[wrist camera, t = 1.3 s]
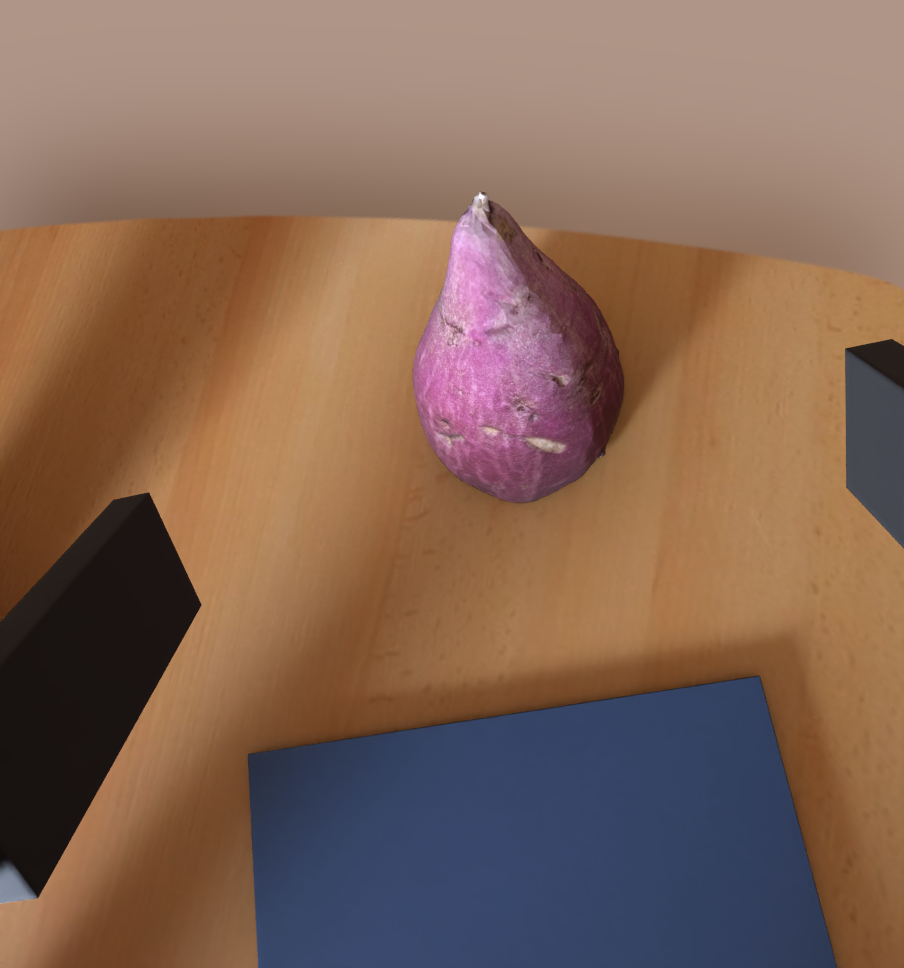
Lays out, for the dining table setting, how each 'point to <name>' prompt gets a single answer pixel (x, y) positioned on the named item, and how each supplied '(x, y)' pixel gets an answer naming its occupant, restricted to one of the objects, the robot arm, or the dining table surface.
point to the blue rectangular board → (540, 842)
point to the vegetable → (514, 365)
